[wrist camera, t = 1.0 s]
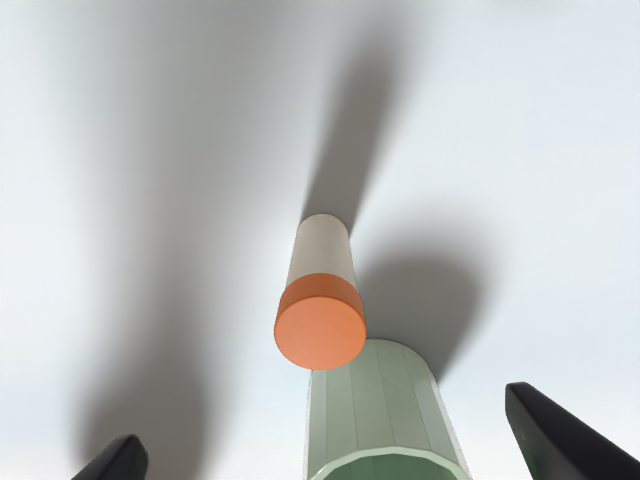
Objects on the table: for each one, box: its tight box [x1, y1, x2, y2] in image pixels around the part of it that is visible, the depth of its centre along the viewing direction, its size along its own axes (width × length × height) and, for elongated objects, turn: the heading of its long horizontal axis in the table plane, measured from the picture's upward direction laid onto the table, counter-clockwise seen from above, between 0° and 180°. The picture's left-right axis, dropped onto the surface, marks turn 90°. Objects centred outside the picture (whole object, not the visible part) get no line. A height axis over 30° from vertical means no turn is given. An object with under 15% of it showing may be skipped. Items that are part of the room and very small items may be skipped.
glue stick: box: [274, 214, 367, 370], centre depth 15 cm, size 3×3×8 cm
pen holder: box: [303, 339, 473, 480], centre depth 20 cm, size 8×8×7 cm
